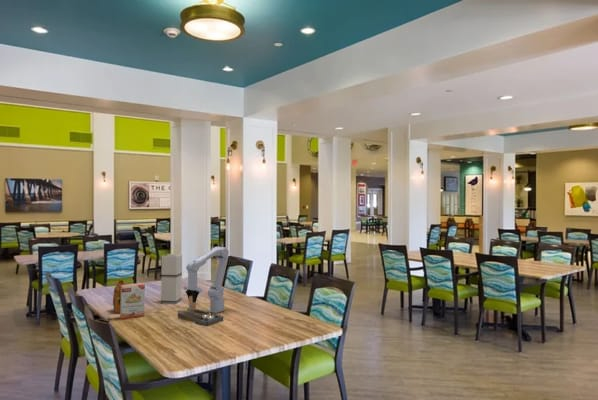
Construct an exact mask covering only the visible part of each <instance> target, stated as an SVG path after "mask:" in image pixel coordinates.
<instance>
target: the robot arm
mask: <svg viewBox="0 0 598 400" xmlns="http://www.w3.org/2000/svg"><path fill="white" fill-rule="evenodd" d="M229 252H230V251H229V249H228V248H227V247H223V246H214V247H212V248H211V250H209V251H208V252H207V253H206V254H205V255H199V256H198V257H197V258H196V259H194V260H193V261H189V262H188V263H187V265H186V267H185V268H186V270H187V280H188V281H187V285H185V286H183V290H185V294H186V295H187V299H188V300H189V296H191V295H192V298H193V303H194V302H196V303H197V300H198V296H199V294H200V293H202V292H203V291H202V290H203V288H200V287H198V271H199V269H200V268H201V267H203V266H204V265H205V264H206V263H207V261H208V260H210V259H211V258H213V257H216V259H217V260H218V264H217V268H216V272H215V276H214V280H213V283H212V284H211V285H210V286H209V289H207V295H208V297H209V300H210V301H209V302H210V303H209V310H207V311H209V313H211V314H212V313H213V314H217V313H221V312H224V311H226V309H225V299H224V298H223V296H224V286H223V285H222V284H223V281H224V276H225V272H226V267H227V264H228V261H229V259H228V258H229Z"/></svg>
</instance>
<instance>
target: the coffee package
mask: <svg viewBox="0 0 598 400" xmlns="http://www.w3.org/2000/svg"><path fill="white" fill-rule="evenodd" d="M117 281H118V282H117V284H115V287H114V289H113V297H112V306H113V310H114V312H115V313H117V314H120V304H121V285H126V284H125V282H124V278H122V277H119V278H117Z"/></svg>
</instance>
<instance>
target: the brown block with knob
mask: <svg viewBox="0 0 598 400" xmlns="http://www.w3.org/2000/svg"><path fill="white" fill-rule="evenodd" d="M196 304H197V301H196V302H194V303H193V298H192V295H191V296H189V299H188V308H189V311H193V310H196V309H197V305H196Z"/></svg>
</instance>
